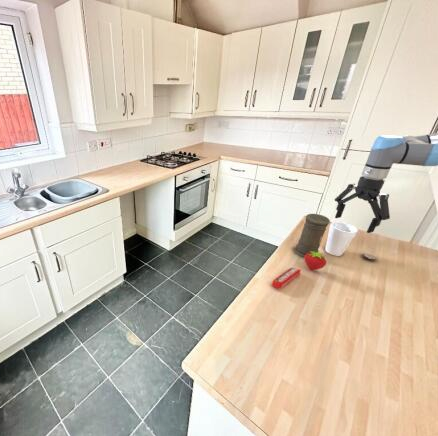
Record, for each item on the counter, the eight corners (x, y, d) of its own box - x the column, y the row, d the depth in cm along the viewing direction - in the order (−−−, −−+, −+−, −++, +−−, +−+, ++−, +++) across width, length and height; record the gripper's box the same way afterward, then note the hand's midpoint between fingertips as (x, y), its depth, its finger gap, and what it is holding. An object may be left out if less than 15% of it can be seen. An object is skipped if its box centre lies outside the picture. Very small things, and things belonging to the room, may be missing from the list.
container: (297, 257, 107) (309, 222, 98) (292, 245, 114) (302, 212, 106) (320, 260, 105) (334, 224, 96) (313, 248, 112) (326, 214, 104)
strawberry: (318, 278, 95) (327, 258, 90) (298, 269, 100) (305, 249, 95) (324, 271, 98) (332, 251, 93) (304, 262, 103) (311, 243, 99)
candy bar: (291, 269, 100) (293, 264, 98) (300, 274, 97) (302, 269, 96) (269, 286, 92) (270, 280, 90) (278, 292, 89) (280, 286, 88)
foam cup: (335, 259, 105) (346, 234, 99) (316, 247, 113) (325, 223, 106) (351, 255, 107) (363, 230, 101) (331, 244, 115) (341, 220, 109)
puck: (377, 260, 104) (378, 258, 103) (370, 262, 103) (371, 260, 102) (367, 254, 107) (368, 252, 107) (360, 256, 106) (361, 254, 106)
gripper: (335, 169, 104) (320, 213, 114) (404, 189, 83) (378, 241, 93) (348, 167, 106) (332, 211, 116) (419, 186, 85) (392, 237, 95)
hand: (352, 224), depth 105 cm, fingers open, 13 cm apart
